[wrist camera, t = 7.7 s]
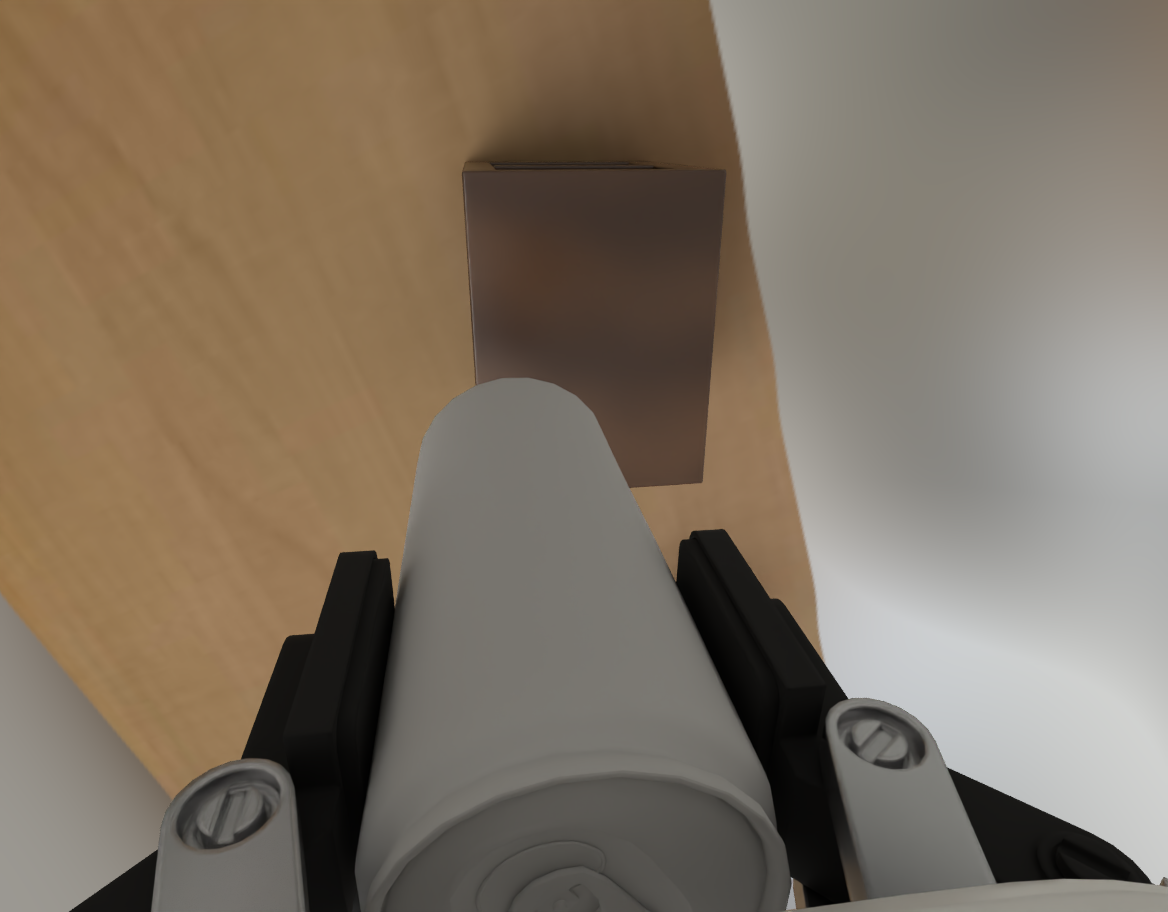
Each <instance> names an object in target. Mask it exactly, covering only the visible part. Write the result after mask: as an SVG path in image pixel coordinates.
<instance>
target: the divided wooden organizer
mask: <svg viewBox="0 0 1168 912" xmlns="http://www.w3.org/2000/svg"><path fill="white" fill-rule="evenodd" d="M462 181H463V197H464V212H465V228H466V243H467V259H468V274H469V290H470V305H471V321H472V336H473V352H474V367H475V383H476V385H479V384H483V383H486V382H490V381H494V380H497V379H501V378H532V379H536V380H540V381H544V382H549V383H553V384H555V385H557V386H559V387H561V388H563V389H565V390H566V391H568V392H570V393H572V394H574V395H576V396H577V397H578V398H579V399H580V400H581V401H582V402H583V403H584V404H585V405H586V406H587V407H588V408H589V409H590V410H591V411H592V412H593V413H594V415H595V417H596V419H597V421H598V423H599V425H600V427H601V430H602V432H603V434H604V436H605V438H606V440H607V442H608V445H609V447H610V449H611V451H612V453H613V455H614V457H615V460H616V462H617V464H618V466H619V468H620V470H621V472H622V474H623V476H624V478H625V480H626V482H627V484H628V486H629V488H633V487H648V486H664V485H679V484H694V483H702V482H703V469H704V456H705V443H706V430H707V417H708V404H709V391H710V378H711V365H712V352H713V339H714V326H715V313H716V300H717V287H718V274H719V261H720V248H721V235H722V222H723V209H724V196H725V183H726V170H723V169H713V168H704V167H694V166H685V165H675V164H666V163H656V162H647V161H618V162H465V164H464V168H463V172H462Z"/></svg>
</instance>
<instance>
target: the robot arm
mask: <svg viewBox="0 0 1168 912" xmlns="http://www.w3.org/2000/svg"><path fill="white" fill-rule="evenodd" d="M676 584H677V586H678V588H679V590H680V592H681V595H682V597H683V599H684V601H685V603H686V605H687V607H688V609H689V612H690V614H691V616H692V618H693V620H694V622H695V624H696V626H697V629H698V631H699V633H700V635H701V637H702V639H703V641H704V644H705V646H706V648H707V650H708V652H709V654H710V656H711V658H712V661H713V663H714V665H715V667H716V669H717V671H718V673H719V675H720V678H721V680H722V682H723V684H724V686H725V688H726V690H727V692H728V695H729V697H730V699H731V701H732V703H733V705H734V707H735V710H736V712H737V714H738V716H739V718H740V720H741V722H742V724H743V727H744V729H745V731H746V733H747V735H748V737H749V739H750V741H751V744H752V746H753V748H754V750H755V752H756V754H757V756H758V759H759V761H760V763H761V765H762V767H763V769H764V771H765V773H766V776H767V779H768V781H769V784H770V788H771V794H772V799H773V805H774V811H775V816H776V822H777V832H778V834H779V835H780V837H781V838H782V840H783V842H784V844H785V848H786V853H787V859H788V865H789V871H790V877H792V878H793V889H794V896H795V903H796V909H797V910H789V911H782V912H1168V879H1167V878H1165V877H1164V878H1163V879H1162V881H1161V883H1160V885H1155V884H1152V883H1151V881H1150V880H1149V878H1148V877H1147V876H1146V875H1145V874H1144V872H1143V871H1142V870H1141V869H1140V868H1139V867H1138V866H1137V865H1136V864H1135V863H1134V862H1133V860H1131V859H1130V858H1129V857H1127V856H1126V855H1125V854H1124V853H1122V852H1121V851H1120V850H1119V849H1117V848H1116V847H1115V846H1113V845H1111V844H1110V843H1108V842H1106V841H1104V840H1103V839H1101V838H1099V837H1097V836H1095V835H1094V834H1092V833H1090V832H1087V831H1085V830H1083V829H1081V828H1079V827H1076V826H1074V825H1072V824H1070V823H1068V822H1066V821H1063V820H1061V819H1059V818H1057V817H1055V816H1052V815H1050V814H1048V813H1046V812H1044V811H1041V810H1039V809H1037V808H1035V807H1033V806H1031V805H1028V804H1026V803H1024V802H1022V801H1020V800H1017V799H1015V798H1013V797H1011V796H1009V795H1006V794H1004V793H1002V792H1000V791H998V790H995V789H993V788H991V787H989V786H987V785H985V784H982V783H980V782H978V781H976V780H973V779H971V778H969V777H967V776H965V775H962V774H960V773H958V772H956V771H954V770H952V769H949V768H947V767H946V764H945V762H944V760H943V758H942V755H941V753H940V750H939V748H938V746H937V743H936V741H935V740H934V738H933V736H932V735H931V733H930V732H929V730H928V729H927V728H926V727H925V726H924V725H923V724H922V723H921V722H920V721H919V720H918V719H917V718H915V717H914V716H912V715H911V714H909V713H908V712H906V711H905V710H903V709H901V708H899V707H897V706H894V705H892V704H889V703H887V702H884V701H880V700H875V699H870V698H851V699H848V698H847V696H846V695H845V693H844V692H843V690H842V689H841V687H840V686H839V684H838V683H837V681H836V680H835V678H834V677H833V675H832V674H831V673H830V671H829V670H828V668H827V667H826V665H825V664H824V662H823V661H822V659H821V658H820V656H819V655H818V653H817V652H816V650H815V649H814V647H813V646H812V644H811V643H810V641H809V640H808V639H807V637H806V636H805V634H804V633H803V631H802V630H801V628H800V627H799V625H798V624H797V622H796V621H795V619H794V618H793V616H792V615H791V613H790V612H789V611H788V609H787V608H786V606H785V605H784V604H783V603H782V602H781V601H780V600H778V599H770V597H769V596H768V594H767V593H766V591H765V590H764V588H763V587H762V585H761V584H760V582H759V581H758V579H757V578H756V576H755V575H754V573H753V572H752V570H751V568H750V567H749V565H748V564H747V562H746V561H745V559H744V558H743V556H742V555H741V553H740V552H739V550H738V549H737V547H736V546H735V544H734V543H733V541H732V540H731V538H730V536H729V535H728V533H727V532H726V531H725V530H723V529H719V530H702V531H693V532H692V533H691V535H690V538H689V539H687V540H682V541H681V542H680V547H679V557H678V569H677V581H676ZM394 613H395V606H394V597H393V588H392V579H391V570H390V562H389V559H388V558H385V559H377V554H376V552H375V551H359V552H342V553H340V554H339V557H338V560H337V563H336V566H335V570H334V573H333V576H332V579H331V582H330V586H329V589H328V592H327V595H326V598H325V602H324V605H323V608H322V611H321V614H320V618H319V621H318V624H317V627H316V631H315V634H305V635H292V636H289V637H287V638H286V640H285V642H284V644H283V646H282V649H281V652H280V654H279V657H278V660H277V662H276V665H275V668H274V671H273V673H272V676H271V679H270V682H269V684H268V687H267V690H266V692H265V695H264V698H263V701H262V703H261V706H260V709H259V712H258V714H257V717H256V720H255V722H254V725H253V728H252V731H251V733H250V736H249V739H248V741H247V744H246V747H245V750H244V752H243V755H242V758H241V760H236V761H230V762H228V763H225V764H223V765H220V766H217V767H215V768H212V769H210V770H208V771H207V772H205V773H204V774H202V775H200V776H199V777H197V778H196V779H194V780H192V781H191V782H190V783H189V784H188V785H187V786H186V787H185V788H184V789H183V790H181V791H180V792H179V793H178V794H177V795H176V797H175V798H174V800H173V801H172V803H171V804H170V806H169V807H168V808H167V810H166V812H165V815H164V818H163V821H162V825H161V829H160V838H159V846H158V850H156V851H155V852H153V853H152V854H151V855H149V856H148V857H146V858H145V859H144V860H142V861H141V862H139V863H138V864H136V865H135V866H133V867H132V868H131V869H129V870H128V871H126V872H125V873H123V874H122V875H121V876H119V877H118V878H116V879H115V880H113V881H112V882H111V883H109V884H108V885H106V886H105V887H103V888H102V889H101V890H99V891H98V892H97V893H95V894H94V895H92V896H91V897H89V898H88V899H86V900H85V901H84V902H82V903H81V904H79V905H78V906H76V907H75V908H74V909H72V910H71V911H69V912H361V909H360V903H359V897H358V890H357V884H356V877H355V862H356V854H357V847H358V841H359V834H360V828H361V822H362V815H363V809H364V805H365V799H366V792H367V786H368V779H369V773H370V767H371V760H372V754H373V747H374V741H375V735H376V728H377V722H378V715H379V709H380V702H381V696H382V690H383V683H384V677H385V670H386V664H387V658H388V651H389V645H390V638H391V632H392V625H393V619H394Z"/></svg>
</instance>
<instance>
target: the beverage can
mask: <svg viewBox="0 0 1168 912" xmlns="http://www.w3.org/2000/svg"><path fill="white" fill-rule="evenodd" d="M355 877H356V884H357V890H358V897H359V903H360V909H361V912H782V911H786V907H787V903H788V898H789V894H790V889H791V884H792V883H791V877H790V871H789V865H788V859H787V853H786V848H785V844H784V842H783V840H782V838H781V837H780V835H779V834H778V832H777V822H776V816H775V811H774V805H773V799H772V794H771V788H770V784H769V781H768V779H767V776H766V773H765V771H764V769H763V767H762V765H761V763H760V761H759V759H758V756H757V754H756V752H755V750H754V748H753V746H752V744H751V741H750V739H749V737H748V735H747V733H746V731H745V729H744V727H743V724H742V722H741V720H740V718H739V716H738V714H737V712H736V710H735V707H734V705H733V703H732V701H731V699H730V697H729V695H728V692H727V690H726V688H725V686H724V684H723V682H722V680H721V678H720V675H719V673H718V671H717V669H716V667H715V665H714V663H713V661H712V658H711V656H710V654H709V652H708V650H707V648H706V646H705V644H704V641H703V639H702V637H701V635H700V633H699V631H698V629H697V626H696V624H695V622H694V620H693V618H692V616H691V614H690V612H689V609H688V607H687V605H686V603H685V601H684V599H683V597H682V595H681V592H680V590H679V588H678V586H677V584H676V582H675V580H674V578H673V576H672V574H671V571H670V569H669V567H668V565H667V563H666V561H665V559H664V557H663V555H662V553H661V551H660V548H659V546H658V544H657V542H656V540H655V538H654V536H653V534H652V532H651V530H650V528H649V526H648V524H647V522H646V520H645V518H644V516H643V514H642V512H641V510H640V508H639V506H638V504H637V502H636V500H635V498H634V496H633V494H632V492H631V490H630V488H629V486H628V484H627V482H626V480H625V478H624V476H623V474H622V472H621V470H620V468H619V466H618V464H617V462H616V460H615V457H614V455H613V453H612V451H611V449H610V447H609V445H608V442H607V440H606V438H605V436H604V434H603V432H602V430H601V427H600V425H599V423H598V421H597V419H596V417H595V415H594V413H593V412H592V411H591V410H590V409H589V408H588V407H587V406H586V405H585V404H584V403H583V402H582V401H581V400H580V399H579V398H578V397H577V396H576V395H574V394H572V393H570V392H568V391H566V390H565V389H563V388H561V387H559V386H557V385H555V384H553V383H549V382H544V381H540V380H536V379H532V378H501V379H497V380H494V381H490V382H486V383H483V384H479V385H476V386H474V387H473V388H471V389H469V390H467V391H466V392H464V393H462V394H460V395H459V396H457V397H455V398H453V399H452V400H451V401H450V402H449V403H448V404H447V405H446V406H445V407H444V408H443V409H442V410H441V411H440V412H439V413H438V414H437V415H436V416H435V418H434V420H433V421H432V423H431V425H430V427H429V429H428V430H427V432H426V434H425V436H424V437H423V441H422V445H421V450H420V454H419V459H418V464H417V470H416V476H415V483H414V489H413V496H412V502H411V508H410V515H409V521H408V527H407V534H406V540H405V547H404V553H403V559H402V566H401V572H400V579H399V585H398V591H397V598H396V604H395V613H394V619H393V625H392V632H391V638H390V645H389V651H388V658H387V664H386V670H385V677H384V683H383V690H382V696H381V702H380V709H379V715H378V722H377V728H376V735H375V741H374V747H373V754H372V760H371V767H370V773H369V779H368V786H367V792H366V799H365V805H364V809H363V815H362V822H361V828H360V834H359V841H358V847H357V854H356V862H355Z"/></svg>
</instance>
